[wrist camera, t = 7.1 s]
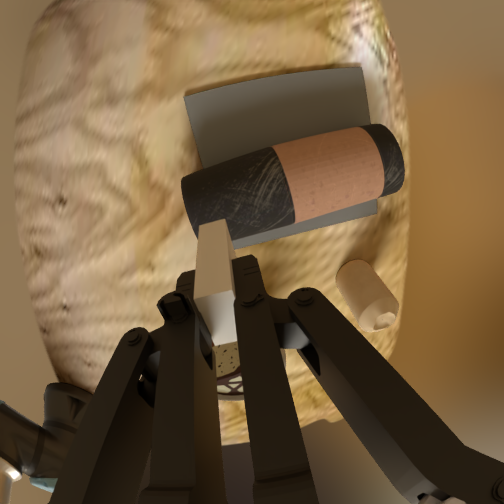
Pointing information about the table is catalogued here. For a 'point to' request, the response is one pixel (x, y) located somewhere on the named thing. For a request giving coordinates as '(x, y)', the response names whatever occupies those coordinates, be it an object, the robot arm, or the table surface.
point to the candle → (367, 296)
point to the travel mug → (295, 180)
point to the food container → (230, 371)
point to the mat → (280, 125)
